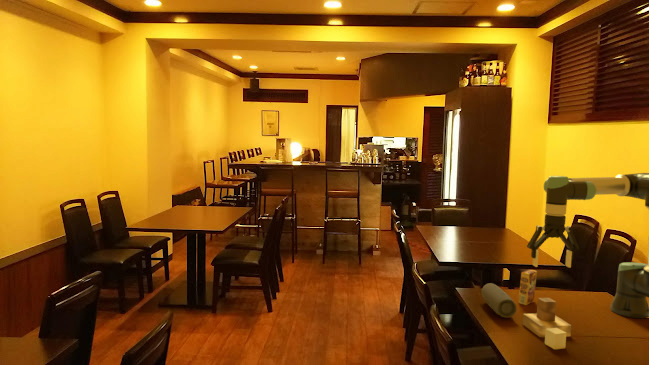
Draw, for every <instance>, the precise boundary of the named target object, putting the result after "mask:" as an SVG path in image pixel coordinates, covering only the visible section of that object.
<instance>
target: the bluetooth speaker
mask: <svg viewBox="0 0 649 365" xmlns="http://www.w3.org/2000/svg"><path fill="white" fill-rule="evenodd" d="M480 292H481V295H482V297H483V299H484V301H485V302H486V303H487V305H488V306H489V307H490V308H491V310H492V309H493V310H492V311H493V312H494V313H495V314H496V315H497V316H500V317H502V318H505V319H506V318H507V319H509V318H512V317H513V316H515V315H516V313H517V309H518V308H517V305H516V302H515V301H514V300H513V298H511V296H510V295H509V294H508V293H507V292H505V291H504V290H503V289H502V288H501V287H500V286H498V285H496V284H495V283H492V282H490V283H486V284H485V285H483V287H482V288H481V290H480Z"/></svg>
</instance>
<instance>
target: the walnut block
mask: <svg viewBox="0 0 649 365" xmlns="http://www.w3.org/2000/svg"><path fill="white" fill-rule="evenodd" d="M556 311H557V301H556V300H553V299H552V298H551V297H537V304H536V314H537V317H538V318H539V319H541V320H542V321H555V315H556Z"/></svg>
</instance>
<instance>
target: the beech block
mask: <svg viewBox="0 0 649 365" xmlns="http://www.w3.org/2000/svg"><path fill="white" fill-rule="evenodd" d="M522 314H523V315H522V325H523V326H524V327H525V328H527V329H528V330H530V332H532V333H533V334H535V335H537V336H538V337H539V338H545V332H546V329H548V328H558V329H560V330H562V331H564V332H566V338H567V337H571V334H572V325H571V324H570V323H568V322H567V321H565V320H564V319H562V318H560V317H558V316H557V315H556V314H555V321H542V320H541V319H539V318H538V317H537V313H522Z"/></svg>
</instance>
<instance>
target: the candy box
mask: <svg viewBox="0 0 649 365" xmlns="http://www.w3.org/2000/svg"><path fill="white" fill-rule="evenodd" d="M537 275H538V271H537V270H534V269H526V270H524V271H522V272H521V274H520V280H519V281H520V284H519V293H518V304H520V305H523V306H528V305H529V304H531V303H534V302H535V292H536V284H537Z"/></svg>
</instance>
